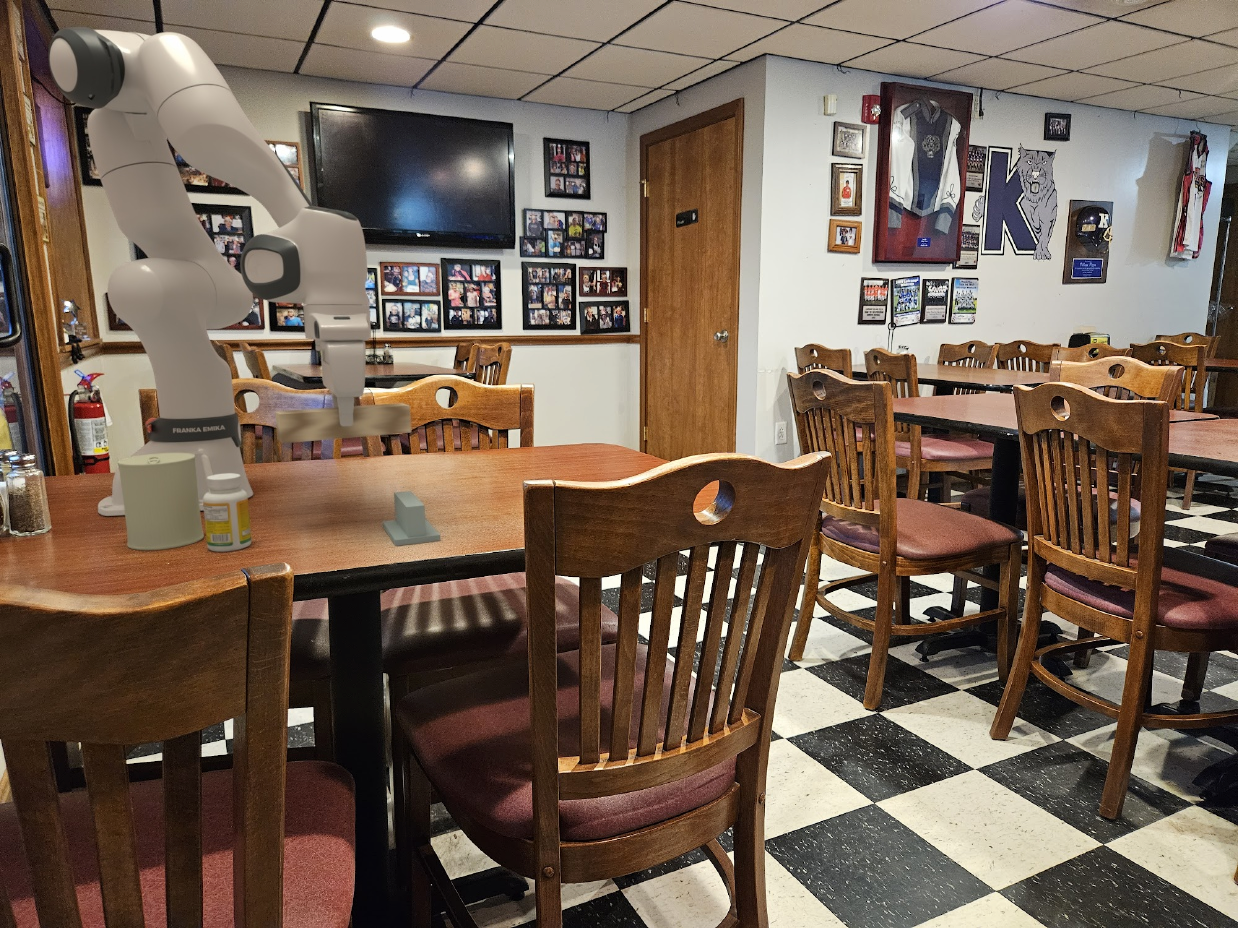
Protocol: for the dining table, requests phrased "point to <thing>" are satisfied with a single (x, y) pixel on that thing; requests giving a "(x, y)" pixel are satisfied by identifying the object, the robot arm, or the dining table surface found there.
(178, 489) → the can
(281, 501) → the dining table surface
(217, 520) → the supplement bottle
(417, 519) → the ridge
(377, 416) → the plank
